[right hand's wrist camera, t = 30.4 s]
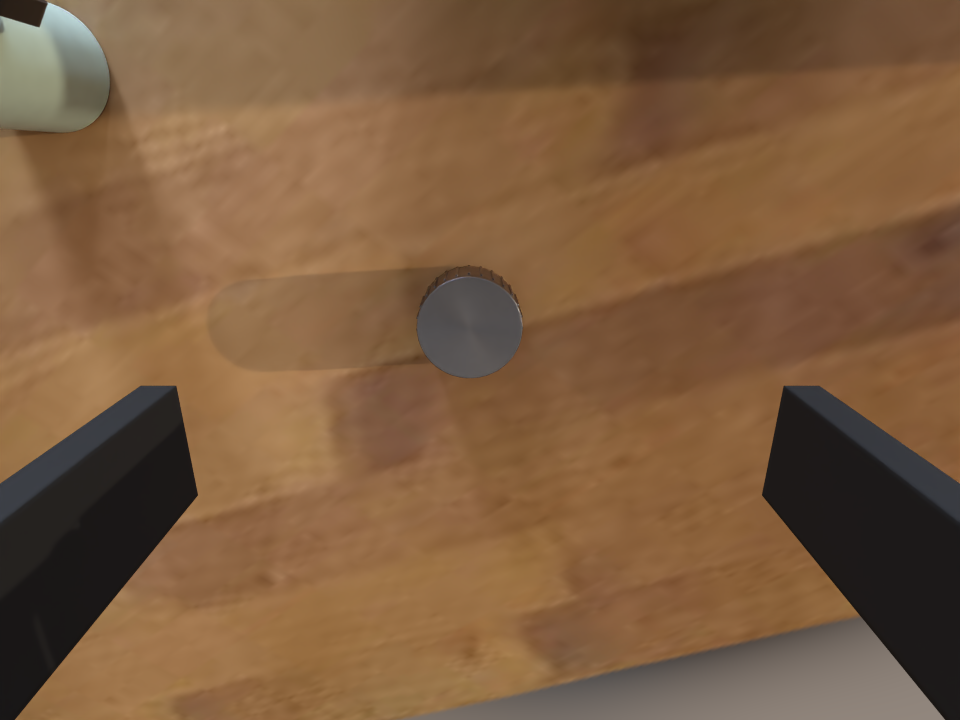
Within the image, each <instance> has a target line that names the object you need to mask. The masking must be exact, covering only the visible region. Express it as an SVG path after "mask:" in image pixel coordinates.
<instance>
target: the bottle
mask: <svg viewBox="0 0 960 720" xmlns="http://www.w3.org/2000/svg"><path fill="white" fill-rule="evenodd" d="M47 3H48V2H47ZM109 90H110V76H109V69H108V65H107V61H106V58H105V55H104V53H103V51H102V49H101V47H100V45H99V43H98V42H97V40H96V38H95V37H94V36H93V34H92V33H91V32H90V30H89V29H88V28H87V27H86V26H85V25H84V24H83V23H82V22H81V21H80V20H79V19H78V18H76V17H75V16H74V15H72V14H71V13H69V12H68V11H66V10H64V9H62V8H61V7H58V6H56V5H53V4H50V3H48V5H47V8H46V11H45V14H44V16H43V19H42V22H41V25H40V27H35V26H32V25H28V24H25V23H22V22H18V21H15V20H12V19H9V18H5V17H2V16H0V129H12V130H27V131H42V132H57V133H68V132H74V131H78V130H81V129H83V128H85V127H87V126H89V125H90V124H91V123H93V122H94V121H95V120H96V119H97V118H98V117H99V116H100V114H101V113H102V111H103V110H104V107H105V105H106V103H107V100H108V96H109Z"/></svg>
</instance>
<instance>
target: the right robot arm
mask: <svg viewBox="0 0 960 720" xmlns="http://www.w3.org/2000/svg"><path fill="white" fill-rule="evenodd" d="M197 496H198V493H197V488H196V483H195V478H194V473H193V468H192V463H191V458H190V453H189V448H188V443H187V438H186V433H185V428H184V423H183V418H182V413H181V408H180V402H179V397H178V392H177V387H176V386H140V387H138V388H137V389H136V390H134V391H133V392H131V393H130V394H128V395H127V396H126V397H124V398H123V399H121V400H120V401H118V402H117V403H115V404H114V405H113V406H111V407H110V408H108V409H107V410H105V411H104V412H103V413H101V414H100V415H98V416H97V417H95V418H94V419H92V420H91V421H90V422H88V423H87V424H85V425H84V426H82V427H81V428H80V429H78V430H77V431H75V432H74V433H72V434H71V435H70V436H68V437H67V438H65V439H64V440H62V441H61V442H59V443H58V444H57V445H55V446H54V447H52V448H51V449H49V450H48V451H47V452H45V453H44V454H42V455H41V456H39V457H38V458H36V459H35V460H34V461H32V462H31V463H29V464H28V465H26V466H25V467H24V468H22V469H21V470H19V471H18V472H16V473H15V474H14V475H12V476H11V477H9V478H8V479H6V480H5V481H3V482H2V483H1V484H0V720H15V719H16V718H17V716H18V715H19V714H20V713H21V711H22V710H23V709H24V708H25V707H26V705H27V704H28V703H29V702H30V700H31V699H32V698H33V697H34V696H35V694H36V693H37V692H38V691H39V689H40V688H41V687H42V686H43V685H44V683H45V682H46V681H47V680H48V678H49V677H50V676H51V675H52V673H53V672H54V671H55V670H56V669H57V667H58V666H59V665H60V664H61V662H62V661H63V660H64V659H65V658H66V656H67V655H68V654H69V653H70V651H71V650H72V649H73V648H74V647H75V645H76V644H77V643H78V642H79V640H80V639H81V638H82V637H83V635H84V634H85V633H86V632H87V631H88V629H89V628H90V627H91V626H92V624H93V623H94V622H95V621H96V620H97V618H98V617H99V616H100V615H101V613H102V612H103V611H104V610H105V609H106V607H107V606H108V605H109V604H110V602H111V601H112V600H113V599H114V598H115V596H116V595H117V594H118V593H119V591H120V590H121V589H122V588H123V586H124V585H125V584H126V583H127V582H128V580H129V579H130V578H131V577H132V575H133V574H134V573H135V572H136V571H137V569H138V568H139V567H140V566H141V564H142V563H143V562H144V561H145V560H146V558H147V557H148V556H149V555H150V553H151V552H152V551H153V550H154V548H155V547H156V546H157V545H158V544H159V542H160V541H161V540H162V539H163V537H164V536H165V535H166V534H167V533H168V531H169V530H170V529H171V528H172V526H173V525H174V524H175V523H176V522H177V520H178V519H179V518H180V517H181V515H182V514H183V513H184V512H185V511H186V509H187V508H188V507H189V506H190V504H191V503H192V502H193V501H194V499H195V498H196V497H197ZM762 496H763V497H764V498H765V499H766V501H767V502H768V503H769V504H770V506H771V507H772V508H773V509H774V511H775V512H776V513H777V514H778V515H779V517H780V518H781V519H782V520H783V522H784V523H785V524H786V525H787V526H788V528H789V529H790V530H791V531H792V533H793V534H794V535H795V536H796V537H797V539H798V540H799V541H800V542H801V544H802V545H803V546H804V547H805V548H806V550H807V551H808V552H809V553H810V555H811V556H812V557H813V558H814V560H815V561H816V562H817V563H818V564H819V566H820V567H821V568H822V569H823V571H824V572H825V573H826V574H827V575H828V577H829V578H830V579H831V580H832V582H833V583H834V584H835V585H836V586H837V588H838V589H839V590H840V591H841V593H842V594H843V595H844V596H845V598H846V599H847V600H848V601H849V602H850V604H851V605H852V606H853V607H854V609H855V610H856V611H857V612H858V613H859V615H860V616H861V617H862V618H863V620H864V621H865V622H866V623H867V624H868V626H869V627H870V628H871V629H872V631H873V632H874V633H875V634H876V635H877V637H878V638H879V639H880V640H881V642H882V643H883V644H884V645H885V646H886V648H887V649H888V650H889V651H890V653H891V654H892V655H893V656H894V658H895V659H896V660H897V661H898V662H899V664H900V665H901V666H902V667H903V669H904V670H905V671H906V672H907V673H908V675H909V676H910V677H911V678H912V680H913V681H914V682H915V683H916V684H917V686H918V687H919V688H920V689H921V691H922V692H923V693H924V694H925V696H926V697H927V698H928V699H929V700H930V702H931V703H932V704H933V705H934V707H935V708H936V709H937V710H938V711H939V713H940V714H941V715H942V716H943V718H944V719H945V720H960V484H959V483H958V482H957V481H955V480H954V479H952V478H951V477H949V476H948V475H946V474H945V473H944V472H942V471H941V470H939V469H938V468H936V467H935V466H934V465H932V464H931V463H929V462H928V461H926V460H925V459H924V458H922V457H921V456H919V455H918V454H916V453H915V452H913V451H912V450H911V449H909V448H908V447H906V446H905V445H903V444H902V443H901V442H899V441H898V440H896V439H895V438H893V437H892V436H890V435H889V434H888V433H886V432H885V431H883V430H882V429H880V428H879V427H878V426H876V425H875V424H873V423H872V422H870V421H869V420H868V419H866V418H865V417H863V416H862V415H860V414H859V413H857V412H856V411H855V410H853V409H852V408H850V407H849V406H847V405H846V404H845V403H843V402H842V401H840V400H839V399H837V398H836V397H834V396H833V395H832V394H830V393H829V392H827V391H826V390H824V389H823V388H822V387H820V386H784V387H783V392H782V397H781V402H780V408H779V413H778V418H777V423H776V428H775V433H774V438H773V443H772V448H771V453H770V458H769V463H768V468H767V473H766V478H765V483H764V488H763V493H762Z"/></svg>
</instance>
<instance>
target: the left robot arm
mask: <svg viewBox="0 0 960 720" xmlns="http://www.w3.org/2000/svg"><path fill="white" fill-rule="evenodd" d="M47 5H48V3H47V2H46V1H45V0H0V16H2V17H5V18H9V19H12V20H15V21H18V22H22V23H25V24H28V25H32V26H35V27H40V25H41V22H42V19H43V16H44V14H45V11H46V8H47Z"/></svg>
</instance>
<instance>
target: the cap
mask: <svg viewBox="0 0 960 720" xmlns="http://www.w3.org/2000/svg"><path fill="white" fill-rule="evenodd" d="M521 317H522V313H521V310H520V307H519V303H518V300H517V297H516V294H515V295H514V293H513V292H512V289H511V286H510V285H508V284H507V283H506V282H505V281H504V280H503V277H502V276H501V277H500V276H498V275H497V274H495V273H493V271H492V270H491V271H489V270H487V269H484V268H482V267H473V266H470V265H468V266H466V267H459V268H458V267H456V269H453V270H450V271H448V272H447V271H445V273H444V274H443V275H441V276H440V277H439V278H438V277H437V278H436V279H435V281H434V282H433V283H432V285H431V286H429V287H428V289H427V292H426V295H425V296H423V298H422V301H421V304H420V309H419V312H418V315H417V319H418V320H417V334H418V340H419V343H420V346H421V348H422V350H423V352H424V353H425V355H426V356H427V358H428V359H429V360H430V361H431V362H432V363H433V364H434V365H435V366H436V367H438V368H439V369H440V370H442V371H444V372H446V373H448V374H450V375H453V376H457V377H462V378H478V377H483V376H487V375H489V374H492V373H494V372H496V371H498V370H499V369H501V368H502V367H503V366H505V365H506V364H507V363H508V362H509V361H510V359H511V358H512V357H513V356H514V354H515V352H516V351H517V349H518V347H519V344H520V341H521V337H522V329H523V326H522V318H521Z"/></svg>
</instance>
